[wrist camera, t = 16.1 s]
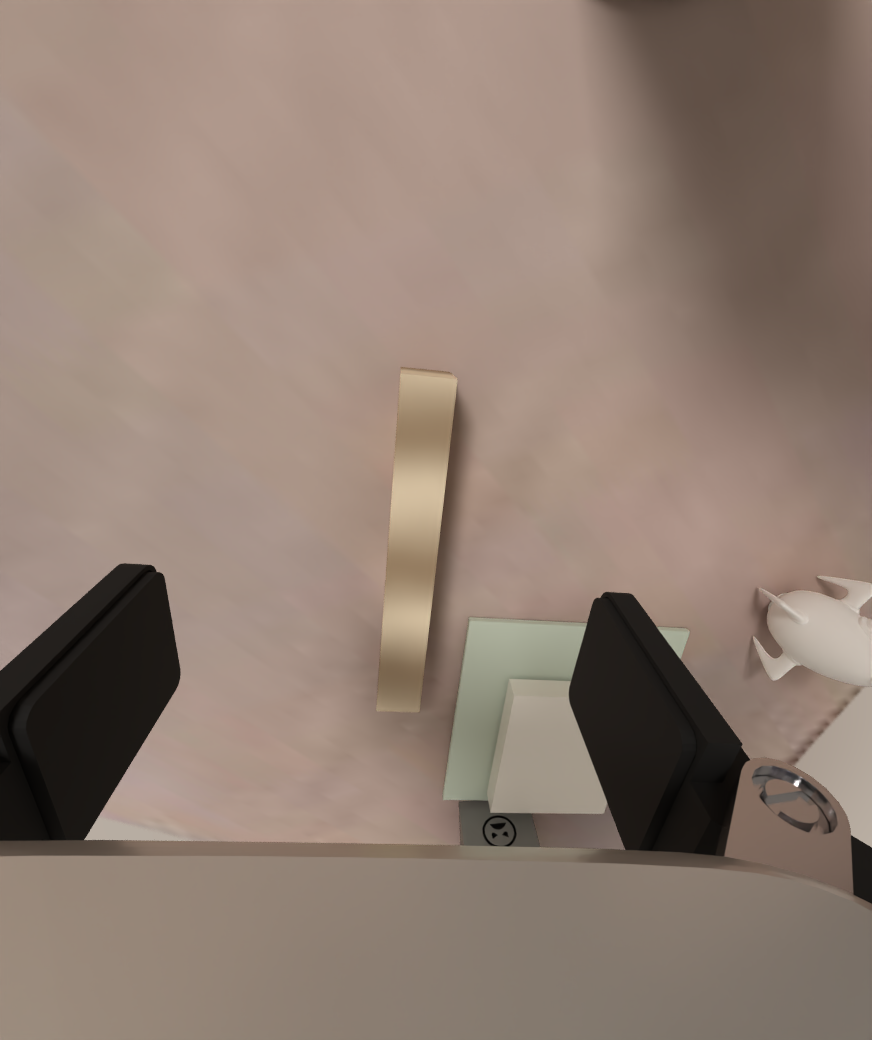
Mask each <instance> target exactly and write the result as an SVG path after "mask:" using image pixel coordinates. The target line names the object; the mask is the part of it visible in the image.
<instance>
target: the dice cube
mask: <svg viewBox="0 0 872 1040" xmlns="http://www.w3.org/2000/svg"><path fill="white" fill-rule="evenodd" d="M459 822H460V845H461V846H505V847H540V844H539V840H538V837H537V833H536V829H535V825H534V822H533V818H532V814H531V813H490V807H489V802H488V800H471V801H461V802H459Z"/></svg>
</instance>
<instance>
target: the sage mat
mask: <svg viewBox="0 0 872 1040" xmlns="http://www.w3.org/2000/svg"><path fill="white" fill-rule="evenodd" d="M586 626H587V623H575V622H555V621H536V620H516V619H497V618H477V617H469V620H468V627H467V633H466V640H465V647H464V654H463V660H462V667H461V674H460V681H459V687H458V694H457V701H456V708H455V714H454V721H453V728H452V735H451V741H450V748H449V755H448V761H447V768H446V775H445V782H444V788H443V800H488V796H487V789H488V784H489V779H490V774H491V769H492V764H493V759H494V754H495V748H496V743H497V738H498V733H499V728H500V723H501V718H502V712H503V707H504V702H505V697H506V692H507V687H508V682H509V679H529V680H555V681H571V679H572V675H573V672H574V668H575V665H576V661H577V658H578V654H579V650H580V647H581V643H582V640H583V636H584V633H585V629H586ZM657 628H658V630H659V631H660V632H661V634H662V635H663V636H664V638H665V639H666V640H667V642H668V643H669V645H670V646H671V647H672V649H673V650H674V651H675V653H676V654H677V655H678V657H679V658H680V659H681V656H682V653H683V651H684V648H685V645H686V642H687V639H688V636H689V634H690V631H689V630H688V629H687V628H672V627H657Z"/></svg>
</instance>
